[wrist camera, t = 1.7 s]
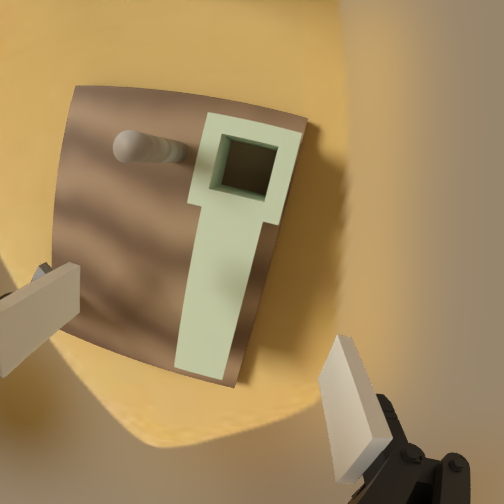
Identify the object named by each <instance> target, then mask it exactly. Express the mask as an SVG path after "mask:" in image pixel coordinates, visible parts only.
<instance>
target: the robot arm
mask: <svg viewBox="0 0 504 504" xmlns="http://www.w3.org/2000/svg"><path fill="white" fill-rule="evenodd" d="M78 313H80V265H77V264H74V263H71V262H68V263H66V264H64V265H62V266H60V267H58V268H56V269H55V270H53V271H51V272H49V273H47V274H45V275H43V276H42V277H40V278H38V279H36V280H34V281H32V282H31V283H29V284H27V285H25V286H24V287H22V288H20V289H18V290H17V291H14V292H11V293H7V294H4V295H3V296H1V297H0V376H1V377H3V378H4V377H6V376H7V375H8V374H9V373H10V372H11V371H12V370H13V369H15V368H16V367H17V366H18V365H19V364H20V363H21V362H22V361H23V360H25V359H26V358H27V357H28V356H29V355H30V354H31V353H32V352H34V351H35V350H36V349H37V348H38V347H39V346H40V345H42V344H43V343H44V342H45V341H46V340H47V339H49V338H50V337H51V336H52V335H53V334H54V333H56V332H57V331H58V330H59V329H60V328H62V327H63V326H64V325H65V324H66V323H67V322H69V321H70V320H71V319H72V318H74V317H75V316H76V315H77V314H78ZM318 381H319V386H320V391H321V397H322V402H323V407H324V413H325V418H326V424H327V430H328V435H329V441H330V447H331V453H332V459H333V465H334V471H335V478H336V483H356V482H357V481H358V479H360V477H361V476H362V475H363V478H364V482H365V483H364V484H363V485H362V486H361V487H360V489H358V490H357V491H356V492H355V493H354V494H353V495H352V499H351V500H350V501H349V502H348V504H470V467H469V463H468V462H467V460H466V459H465V458H464V457H463V456H462V455H460V454H457V453H448V454H447V455H446V456H445V457H444V458H443V459H442V460H441V461H439V460H434V459H429V458H426V457H425V454H424V453H423V451H422V450H421V449H420V448H419V447H417V446H416V445H414V444H411V443H408V441H407V438H406V436H405V434H404V431H403V429H402V427H401V424H400V422H399V420H398V417H397V415H396V413H395V410H394V408H393V406H392V404H391V402H390V401H389V400H388V399H387V398H386V397H385V395H383V394H375V391H374V389H373V386H372V384H371V382H370V379H369V377H368V374H367V372H366V369H365V367H364V365H363V362H362V360H361V358H360V356H359V353H358V351H357V348H356V346H355V344H354V342H353V339H352V337H348V336H343V335H337V336H336V339H335V341H334V343H333V346H332V348H331V350H330V353H329V355H328V357H327V360H326V362H325V364H324V366H323V369H322V371H321V373H320V375H319V377H318Z"/></svg>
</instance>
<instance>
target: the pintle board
mask: <svg viewBox="0 0 504 504" xmlns="http://www.w3.org/2000/svg"><path fill="white" fill-rule="evenodd" d="M208 112H210V113H216V114H221V115H226V116H231V117H236V118H241V119H246V120H250V121H255V122H259V123H264V124H268V125H272V126H276V127H280V128H284V129H288V130H292V131H296V132H299V133H302V136H301V140H300V144H299V148H298V152H297V156H296V160H295V164H294V168H293V172H292V175H291V179H290V183H289V187H288V191H287V195H286V198H285V202H284V206H283V210H282V214H281V217H280V221H279V225H275V224H271V223H267V222H263V223H262V227H261V231H260V235H259V239H258V243H257V247H256V251H255V255H254V258H253V262H252V266H251V270H250V274H249V278H248V282H247V286H246V290H245V294H244V297H243V301H242V305H241V309H240V313H239V317H238V321H237V325H236V329H235V332H234V336H233V340H232V344H231V348H230V352H229V356H228V359H227V363H226V367H225V371H224V375H223V379H222V380H220V379H216V378H212V377H208V376H204V375H200V374H197V373H193V372H189V371H186V370H182V369H179V368H176V367H174V363H175V356H176V349H177V342H178V335H179V329H180V322H181V316H182V309H183V303H184V297H185V291H186V286H187V280H188V274H189V269H190V263H191V258H192V253H193V247H194V242H195V237H196V232H197V227H198V222H199V217H200V212H201V208H202V206H197V205H193V204H189V203H187V200H188V196H189V191H190V186H191V181H192V177H193V172H194V168H195V163H196V159H197V155H198V150H199V146H200V142H201V138H202V134H203V130H204V126H205V122H206V118H207V114H208ZM307 120H308V118H305V117H301V116H297V115H294V114H290V113H286V112H282V111H278V110H274V109H269V108H265V107H261V106H256V105H251V104H247V103H242V102H237V101H231V100H226V99H220V98H215V97H209V96H202V95H196V94H189V93H181V92H173V91H164V90H155V89H144V88H131V87H113V86H75V90H74V94H73V97H72V101H71V105H70V110H69V114H68V118H67V123H66V128H65V133H64V138H63V143H62V149H61V155H60V161H59V168H58V175H57V183H56V192H55V203H54V215H53V233H52V268H51V267H50V266H49V265H48V264H47V262H45V263H43V264H41V265H39V266H38V268H37V270H36V272H35V274H34V276H33V278H32V280H31V282H32V281H34V280H36V279H38V278H40V277H42V276H43V275H45V274H47V273H49V272H51V271H53V270H55V269H56V268H58V267H60V266H62V265H64V264H66V263H68V262H71V263H74V264H77V265H80V313H78V314H77V315H76V316H75V317H74V318H72V319H71V320H70V321H69V322H67V323H66V324H65V325H64V326H63V327H62V328H60V330H62V331H64V332H66V333H69V334H71V335H73V336H76V337H78V338H80V339H83V340H85V341H87V342H90V343H92V344H95V345H97V346H100V347H102V348H105V349H107V350H110V351H113V352H115V353H118V354H121V355H124V356H126V357H129V358H132V359H135V360H138V361H141V362H144V363H146V364H150V365H153V366H156V367H159V368H162V369H165V370H168V371H172V372H175V373H178V374H182V375H185V376H189V377H192V378H196V379H200V380H203V381H207V382H211V383H215V384H219V385H223V386H227V387H231V388H235V384H236V381H237V378H238V374H239V371H240V367H241V364H242V361H243V357H244V354H245V350H246V347H247V343H248V340H249V336H250V333H251V330H252V326H253V323H254V319H255V315H256V312H257V308H258V305H259V301H260V298H261V294H262V291H263V287H264V283H265V280H266V276H267V273H268V269H269V265H270V262H271V258H272V254H273V251H274V247H275V243H276V240H277V236H278V232H279V229H280V225H281V221H282V217H283V214H284V210H285V206H286V202H287V198H288V195H289V191H290V187H291V183H292V179H293V175H294V171H295V168H296V164H297V160H298V156H299V152H300V148H301V144H302V140H303V136H304V132H305V128H306V124H307ZM276 153H277V151H275V150H271V149H267V148H263V147H259V146H254V145H250V144H246V143H241V142H237V141H232V142H231V146H230V150H229V154H228V158H227V162H226V167H225V171H224V175H223V179H222V184H221V185H226V186H230V187H234V188H238V189H243V190H247V191H251V192H255V193H259V194H263V195H266V193H267V189H268V185H269V181H270V177H271V173H272V169H273V165H274V161H275V157H276ZM31 282H30V283H31Z"/></svg>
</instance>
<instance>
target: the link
mask: <svg viewBox="0 0 504 504" xmlns="http://www.w3.org/2000/svg"><path fill="white" fill-rule="evenodd" d="M301 136H302V133H299V132H296V131H292V130H288V129H284V128H280V127H276V126H272V125H268V124H264V123H259V122H255V121H250V120H246V119H241V118H236V117H231V116H226V115H221V114H216V113H210V112H208V114H207V118H206V122H205V126H204V130H203V134H202V138H201V142H200V146H199V150H198V155H197V159H196V163H195V168H194V172H193V177H192V181H191V186H190V191H189V196H188V200H187V203H189V204H193V205H197V206H202V208H201V212H200V217H199V222H198V227H197V232H196V237H195V242H194V247H193V253H192V258H191V263H190V269H189V274H188V280H187V286H186V291H185V297H184V303H183V309H182V316H181V322H180V329H179V335H178V342H177V349H176V356H175V363H174V367H176V368H179V369H182V370H186V371H189V372H193V373H197V374H200V375H204V376H208V377H212V378H216V379H220V380H222V379H223V375H224V371H225V367H226V363H227V359H228V356H229V352H230V348H231V344H232V340H233V336H234V332H235V329H236V325H237V321H238V317H239V313H240V309H241V305H242V301H243V297H244V294H245V290H246V286H247V282H248V278H249V274H250V270H251V266H252V262H253V258H254V255H255V251H256V247H257V243H258V239H259V235H260V231H261V227H262V223H263V222H267V223H271V224H275V225H279V221H280V217H281V214H282V210H283V206H284V202H285V198H286V195H287V191H288V187H289V183H290V179H291V175H292V172H293V168H294V164H295V160H296V156H297V152H298V148H299V144H300V140H301ZM232 141H237V142H241V143H246V144H250V145H254V146H259V147H263V148H267V149H271V150H275V151H277V153H276V157H275V161H274V165H273V169H272V173H271V177H270V181H269V185H268V189H267V193H266V195H263V194H259V193H255V192H251V191H247V190H243V189H238V188H234V187H230V186H226V185H221V184H222V179H223V175H224V171H225V167H226V162H227V158H228V154H229V150H230V146H231V142H232Z"/></svg>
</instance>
